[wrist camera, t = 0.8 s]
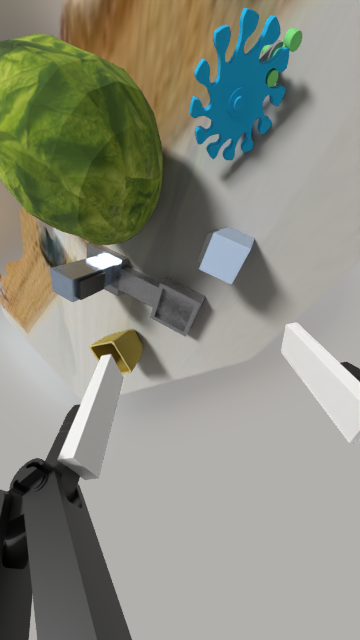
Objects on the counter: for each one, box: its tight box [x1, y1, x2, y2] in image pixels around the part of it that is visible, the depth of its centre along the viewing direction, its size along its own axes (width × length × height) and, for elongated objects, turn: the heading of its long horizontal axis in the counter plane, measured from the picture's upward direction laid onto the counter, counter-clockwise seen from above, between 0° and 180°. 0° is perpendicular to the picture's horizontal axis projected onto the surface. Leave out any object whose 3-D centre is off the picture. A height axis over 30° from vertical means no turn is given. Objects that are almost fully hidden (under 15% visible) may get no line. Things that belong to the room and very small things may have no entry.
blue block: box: [197, 227, 255, 285], centre depth 25 cm, size 4×5×10 cm
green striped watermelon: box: [0, 34, 163, 245], centre depth 23 cm, size 19×23×18 cm
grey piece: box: [50, 242, 205, 336], centre depth 35 cm, size 9×27×12 cm, turn 69°
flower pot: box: [89, 330, 143, 373], centre depth 46 cm, size 9×9×9 cm
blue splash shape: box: [190, 8, 302, 160], centre depth 20 cm, size 11×6×10 cm
